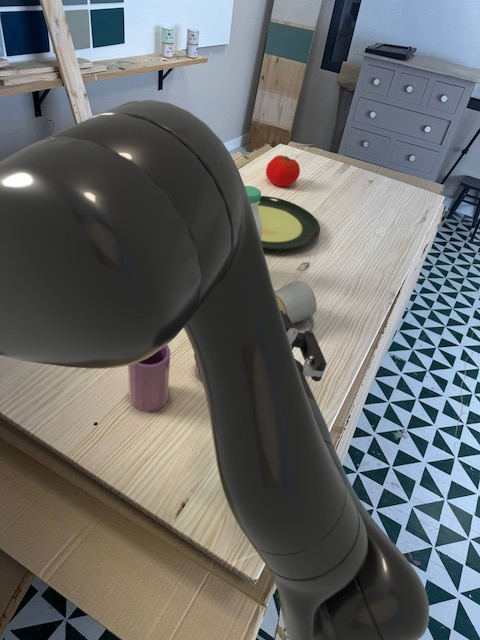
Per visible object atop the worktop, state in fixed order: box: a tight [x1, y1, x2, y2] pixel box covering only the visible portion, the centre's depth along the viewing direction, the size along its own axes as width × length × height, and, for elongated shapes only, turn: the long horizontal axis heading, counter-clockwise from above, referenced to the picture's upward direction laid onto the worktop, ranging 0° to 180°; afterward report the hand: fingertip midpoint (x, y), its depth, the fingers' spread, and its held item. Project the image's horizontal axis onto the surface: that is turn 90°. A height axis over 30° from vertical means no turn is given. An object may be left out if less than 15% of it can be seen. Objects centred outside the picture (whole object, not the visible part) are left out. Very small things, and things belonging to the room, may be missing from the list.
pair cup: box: [127, 344, 171, 413], centre depth 71 cm, size 6×6×10 cm
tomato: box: [265, 154, 301, 187], centre depth 141 cm, size 9×10×8 cm
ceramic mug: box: [274, 280, 317, 333], centre depth 90 cm, size 11×8×8 cm
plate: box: [258, 195, 321, 251], centre depth 121 cm, size 28×28×2 cm
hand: (244, 316), depth 58 cm, fingers open, 8 cm apart
